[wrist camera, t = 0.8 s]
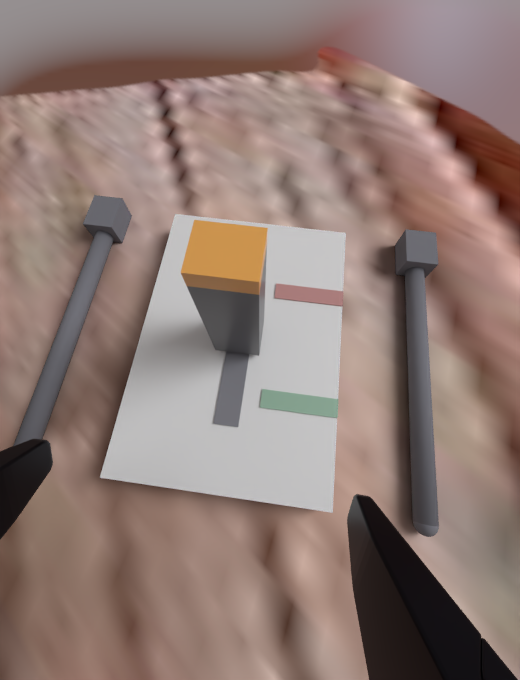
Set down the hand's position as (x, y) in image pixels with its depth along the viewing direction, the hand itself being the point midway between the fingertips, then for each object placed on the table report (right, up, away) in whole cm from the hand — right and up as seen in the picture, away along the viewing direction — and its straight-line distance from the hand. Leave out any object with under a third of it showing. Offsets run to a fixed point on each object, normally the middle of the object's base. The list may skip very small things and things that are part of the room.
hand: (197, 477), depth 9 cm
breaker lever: (0, +4, +12) cm, 13 cm away
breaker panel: (0, +3, +14) cm, 15 cm away
